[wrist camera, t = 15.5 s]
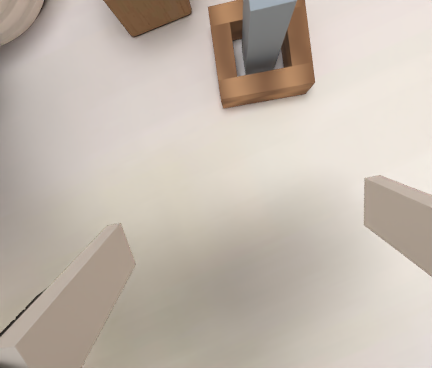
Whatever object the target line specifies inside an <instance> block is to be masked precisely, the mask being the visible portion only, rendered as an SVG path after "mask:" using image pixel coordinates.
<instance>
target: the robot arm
mask: <svg viewBox="0 0 432 368" xmlns="http://www.w3.org/2000/svg"><path fill="white" fill-rule="evenodd" d="M364 225H365V226H366V227H367V228H369V229H370V230H371V231H372V232H374V233H375V234H376V235H378V236H379V237H380V238H382V239H383V240H384V241H386V242H387V243H388V244H390V245H391V246H392V247H393V248H395V249H396V250H397V251H399V252H400V253H401V254H403V255H404V256H405V257H407V258H408V259H409V260H411V261H412V262H413V263H414V264H416V265H417V266H418V267H420V268H421V269H422V270H424V271H425V272H426V273H428V274H429V275H430V276H432V195H430V194H427V193H425V192H422V191H420V190H417V189H414V188H412V187H409V186H407V185H404V184H401V183H399V182H396V181H394V180H391V179H388V178H386V177H383V176H381V175H379V176H373V177H368V178H365V185H364ZM135 265H136V263H135V260H134V257H133V255H132V252H131V249H130V247H129V244H128V241H127V239H126V236H125V233H124V231H123V228H122V225H121V223H118V224H112V225H107V226H106V227H105V228H104V229H103V230H102V231H101V233H100V234H99V235H98V236H97V237H96V238H95V239H94V240H93V241H92V242H91V243H90V244H89V245H88V246H87V247H86V248H85V249H84V250H83V251H82V252H81V253H80V254H79V255H78V257H77V258H76V259H75V260H74V261H73V262H72V263H71V264H70V265H69V266H68V267H67V268H66V269H65V270H64V271H63V272H62V273H61V274H60V275H59V276H58V277H57V278H56V279H55V281H54V282H53V283H52V284H51V285H50V286H49V287H48V288H47V289H45V290H44V291H43V292H41V293H40V294H39V295H37V296H36V297H35V298H34V299H33V300H32V301H31V302H30V303H29V305H28V306H27V307H26V309H25V310H23V311H22V312H21V313H20V314H19V315H18V316H17V317H16V320H13V321H12V322H11V323H10V324H9V325H8V326H7V327H6V328H5V329H4V330H3V331H2V332H1V333H0V368H82V366H83V364H84V362H85V360H86V358H87V356H88V355H89V353H90V351H91V349H92V347H93V345H94V343H95V341H96V339H97V337H98V336H99V334H100V332H101V330H102V328H103V326H104V324H105V322H106V320H107V318H108V316H109V315H110V313H111V311H112V309H113V307H114V305H115V303H116V301H117V299H118V297H119V296H120V294H121V292H122V290H123V288H124V286H125V284H126V282H127V280H128V278H129V276H130V275H131V273H132V271H133V269H134V267H135Z"/></svg>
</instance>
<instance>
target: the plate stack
mask: <svg viewBox="0 0 432 368" xmlns="http://www.w3.org/2000/svg"><path fill="white" fill-rule="evenodd" d="M43 2H44V0H0V46H1V45H4V44H6V43H8V42H10V41H12V40H14V39H15V38H17V37H18V36H20V35H21V34H22V33H24V32H25V31H26V30H27V29H28V28H29V27H30V26H31V25H32V23H33V22H34V21H35V19H36V17H37V16H38V14H39V12H40V10H41V8H42V5H43Z"/></svg>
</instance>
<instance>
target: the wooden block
mask: <svg viewBox="0 0 432 368" xmlns="http://www.w3.org/2000/svg"><path fill="white" fill-rule="evenodd" d="M103 1H104V2H105V3H106V4H107V6H108V7H109V8H110V9H111V11H112V12H113V13H114V14H115V16H116V17H117V18H118V20H119V21H120V22H121V23H122V25H123V26H124V27H125V28H126V30H127V31H128V32H129V34H130V35H131V36H133V37H134V36H137V35H140V34H142V33H145V32H147V31H149V30H152V29H154V28H157V27H159V26H162V25H164V24H167V23H169V22H172V21H174V20H177V19H179V18H182V17H184V16H187V15H189V14H190V13H191V6H190V2H189V0H103Z"/></svg>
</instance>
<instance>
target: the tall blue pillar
mask: <svg viewBox="0 0 432 368" xmlns="http://www.w3.org/2000/svg"><path fill="white" fill-rule="evenodd" d="M296 2H297V0H243V24H242V53H243V60H244V67H245V74H246V75H249V74H254V73H260V72H265V71H270V70H274V67H275V64H276V61H277V58H278V55H279V52H280V49H281V46H282V43H283V40H284V37H285V34H286V31H287V29H288V26H289V23H290V20H291V17H292V14H293V11H294V8H295V5H296Z"/></svg>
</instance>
